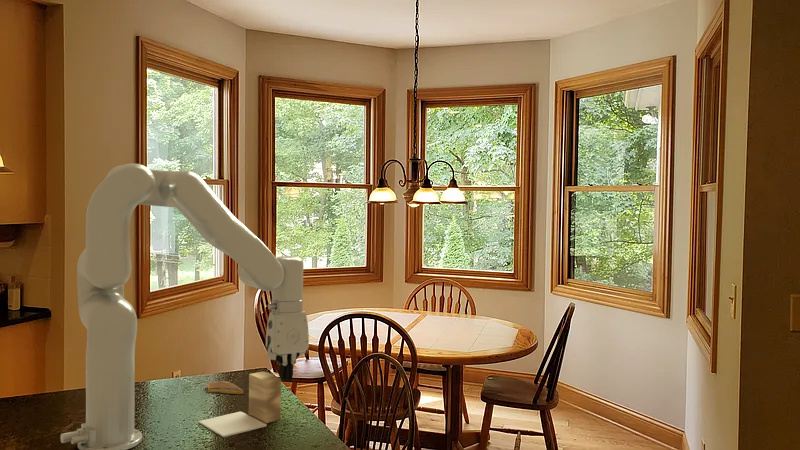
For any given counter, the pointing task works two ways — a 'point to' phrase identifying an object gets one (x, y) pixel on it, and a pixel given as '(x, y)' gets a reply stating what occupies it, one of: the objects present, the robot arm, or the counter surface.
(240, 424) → the plastic mat
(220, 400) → the counter surface
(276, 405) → the wood block
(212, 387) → the shard
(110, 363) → the robot arm
